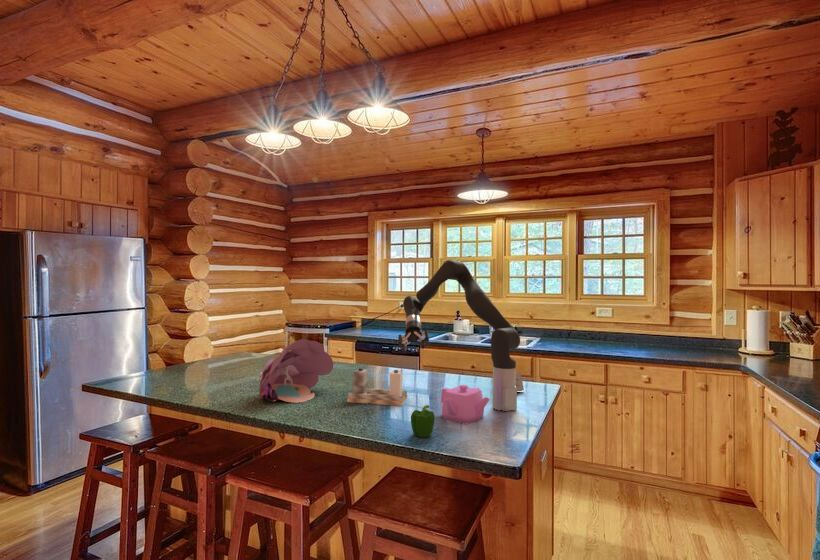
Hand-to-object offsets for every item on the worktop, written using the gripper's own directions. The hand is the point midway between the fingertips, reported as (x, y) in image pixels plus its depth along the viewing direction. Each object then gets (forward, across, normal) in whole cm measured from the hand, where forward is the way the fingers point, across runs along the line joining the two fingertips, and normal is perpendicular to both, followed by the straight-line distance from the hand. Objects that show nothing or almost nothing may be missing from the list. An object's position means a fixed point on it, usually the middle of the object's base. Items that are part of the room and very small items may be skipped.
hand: (413, 349), depth 193 cm
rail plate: (+16, -19, +10) cm, 27 cm away
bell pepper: (+51, +5, -8) cm, 52 cm away
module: (+17, -11, +10) cm, 22 cm away
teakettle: (+35, +18, +7) cm, 40 cm away
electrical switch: (+3, +39, +36) cm, 54 cm away
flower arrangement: (+14, -56, +2) cm, 58 cm away
